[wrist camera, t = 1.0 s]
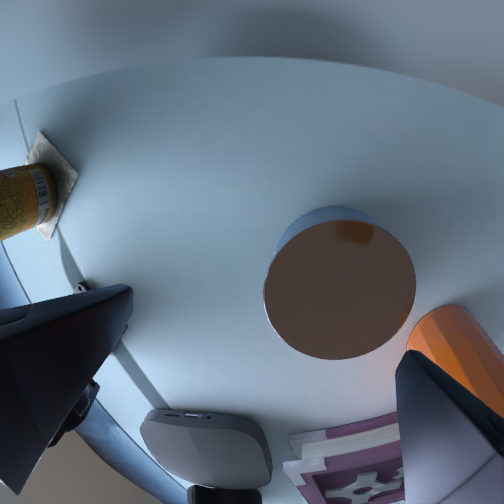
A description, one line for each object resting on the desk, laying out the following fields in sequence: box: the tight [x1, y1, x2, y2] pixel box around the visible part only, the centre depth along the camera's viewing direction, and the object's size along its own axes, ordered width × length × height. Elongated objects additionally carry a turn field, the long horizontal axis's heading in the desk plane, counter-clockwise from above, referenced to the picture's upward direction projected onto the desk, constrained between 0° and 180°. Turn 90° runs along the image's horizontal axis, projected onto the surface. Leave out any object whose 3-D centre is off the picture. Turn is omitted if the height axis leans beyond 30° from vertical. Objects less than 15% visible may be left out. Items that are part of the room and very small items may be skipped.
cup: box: [407, 304, 504, 419], centre depth 16 cm, size 7×7×13 cm
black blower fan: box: [187, 484, 262, 504], centre depth 32 cm, size 4×12×10 cm
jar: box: [263, 206, 416, 360], centre depth 20 cm, size 9×9×5 cm
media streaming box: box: [140, 409, 273, 489], centre depth 30 cm, size 15×15×3 cm
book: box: [283, 412, 405, 504], centre depth 25 cm, size 25×16×5 cm, turn 111°
